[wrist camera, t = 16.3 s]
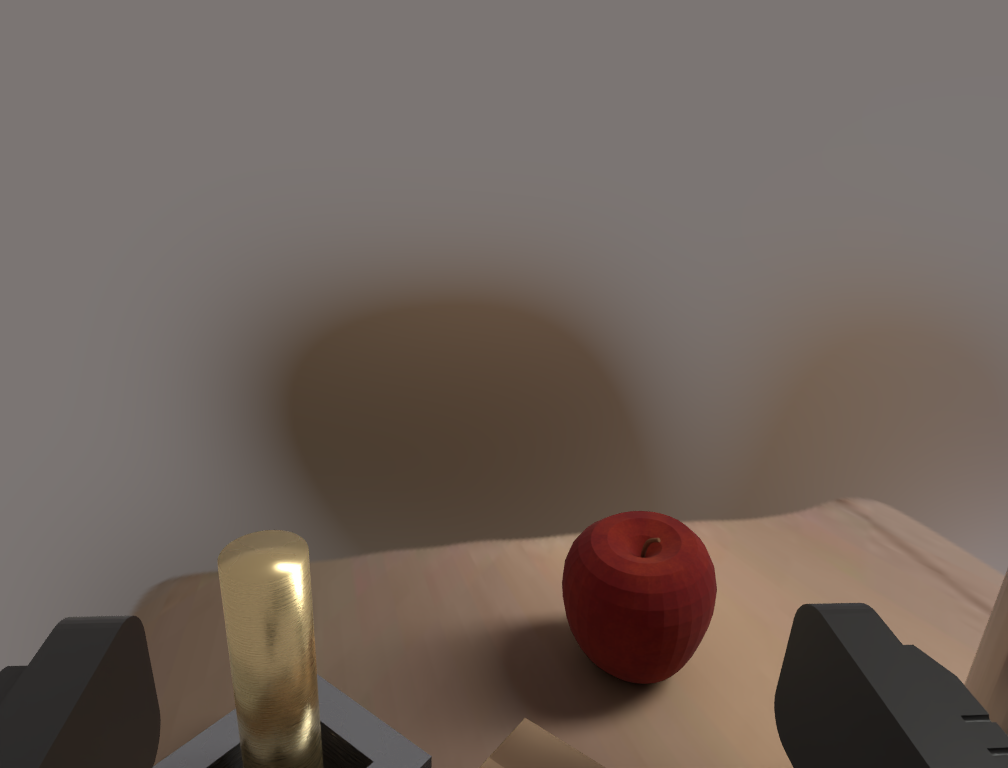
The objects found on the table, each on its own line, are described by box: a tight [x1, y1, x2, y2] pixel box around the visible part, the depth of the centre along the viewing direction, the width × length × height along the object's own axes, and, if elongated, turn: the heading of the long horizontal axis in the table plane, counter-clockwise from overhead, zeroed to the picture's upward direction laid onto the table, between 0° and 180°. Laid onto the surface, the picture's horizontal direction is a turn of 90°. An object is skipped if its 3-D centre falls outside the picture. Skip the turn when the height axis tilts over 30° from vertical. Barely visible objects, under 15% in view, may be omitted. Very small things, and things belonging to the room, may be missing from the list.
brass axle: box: [218, 530, 323, 768], centre depth 33 cm, size 4×4×16 cm
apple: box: [562, 511, 717, 684], centre depth 46 cm, size 10×10×10 cm
